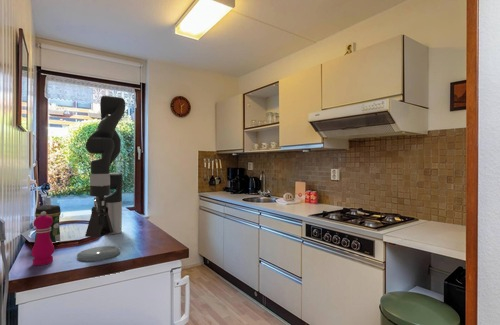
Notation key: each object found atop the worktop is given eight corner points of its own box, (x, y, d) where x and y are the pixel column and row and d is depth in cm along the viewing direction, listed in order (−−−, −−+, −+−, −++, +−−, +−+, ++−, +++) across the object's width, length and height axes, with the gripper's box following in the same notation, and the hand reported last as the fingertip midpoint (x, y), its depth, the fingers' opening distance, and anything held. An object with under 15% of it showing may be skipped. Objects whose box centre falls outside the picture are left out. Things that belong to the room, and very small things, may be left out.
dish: (75, 253, 117) (75, 250, 117) (115, 246, 127) (115, 243, 127) (79, 264, 104) (79, 261, 104) (124, 256, 114) (124, 253, 114)
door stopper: (96, 238, 110) (96, 208, 110) (85, 236, 112) (85, 207, 112) (113, 232, 119) (113, 205, 119) (102, 231, 121) (102, 204, 121)
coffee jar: (30, 246, 126) (31, 206, 126) (44, 241, 134) (45, 203, 134) (51, 246, 126) (51, 206, 125) (63, 241, 133) (64, 204, 133)
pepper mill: (39, 259, 110) (40, 209, 110) (58, 259, 110) (59, 209, 110) (26, 266, 102) (26, 213, 102) (46, 265, 103) (47, 213, 103)
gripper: (87, 183, 119) (87, 221, 119) (92, 186, 108) (92, 228, 108) (106, 182, 124) (106, 219, 124) (113, 185, 112) (113, 225, 112)
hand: (99, 223), depth 116 cm, fingers closed on door stopper, 6 cm apart
